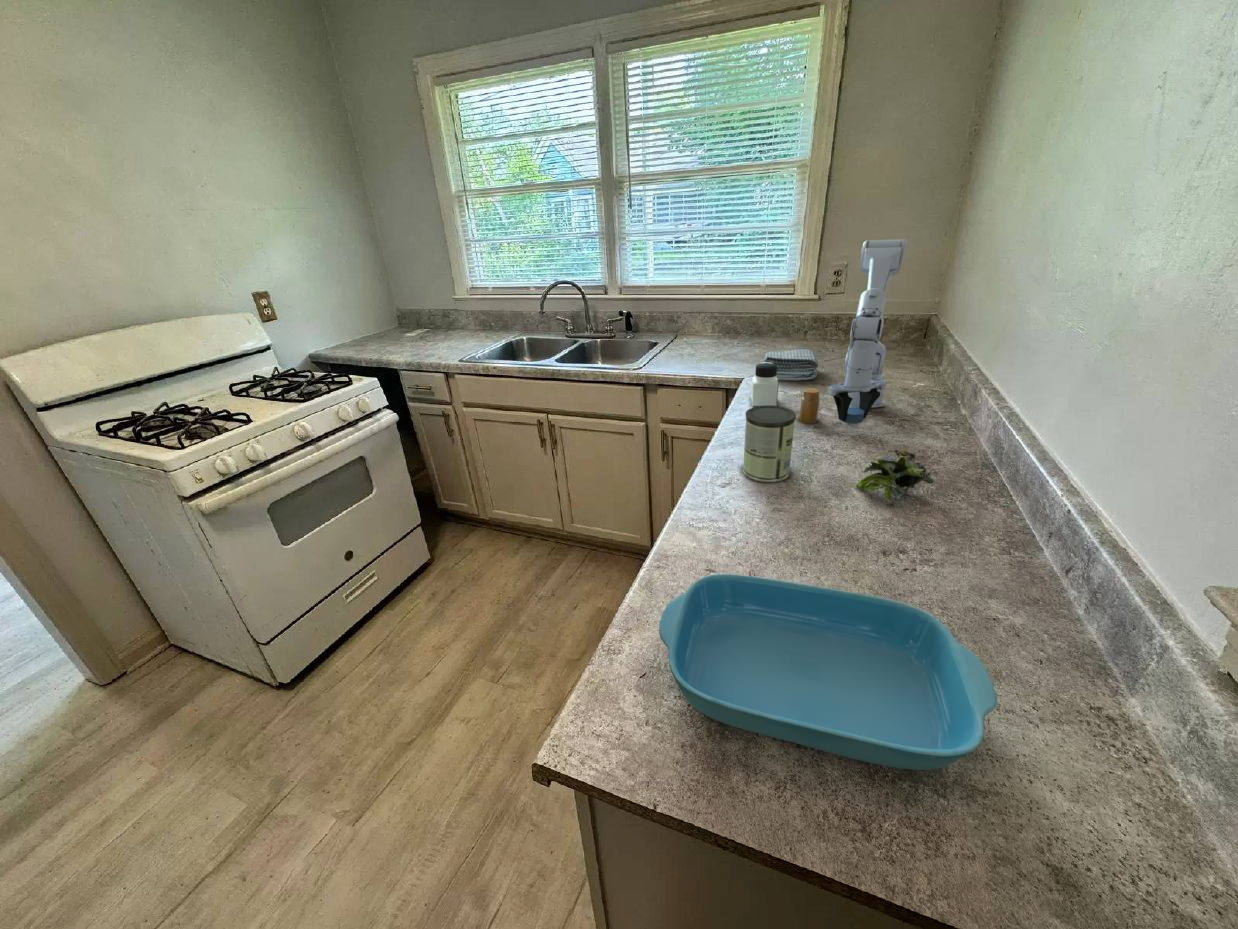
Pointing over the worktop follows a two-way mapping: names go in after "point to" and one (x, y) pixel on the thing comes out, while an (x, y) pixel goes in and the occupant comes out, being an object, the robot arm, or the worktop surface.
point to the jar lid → (854, 415)
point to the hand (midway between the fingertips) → (851, 418)
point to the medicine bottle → (765, 385)
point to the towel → (794, 364)
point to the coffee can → (768, 443)
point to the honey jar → (809, 405)
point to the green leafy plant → (895, 474)
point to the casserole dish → (828, 670)
